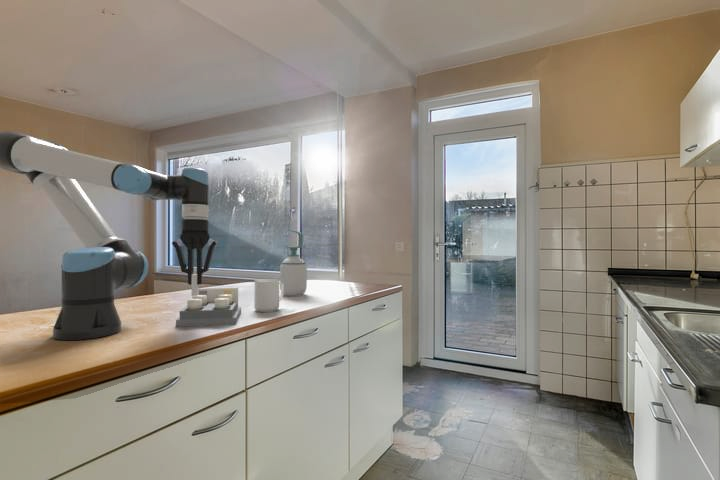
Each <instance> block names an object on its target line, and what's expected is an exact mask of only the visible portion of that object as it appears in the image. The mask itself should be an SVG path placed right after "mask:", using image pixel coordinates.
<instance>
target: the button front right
mask: <svg viewBox="0 0 720 480" xmlns="http://www.w3.org/2000/svg"><path fill="white" fill-rule="evenodd" d="M215 309H229V298H217V299H215Z"/></svg>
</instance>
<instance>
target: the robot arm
mask: <svg viewBox="0 0 720 480" xmlns="http://www.w3.org/2000/svg"><path fill="white" fill-rule="evenodd" d="M0 169H2V170H4V171H8V172H12V173H16V174H21V175H25V176H26V177H27V178H28V180H29V182H31V184H32V185H33V187H34V188H35V189H38V190H41V191H44V192H45V194H46V195H47V196H48V197H49V199H50V200H51V203H53V205H54V206H55V207H56V209H57V211H58V212H59V213H60V215H62V217H63V219H65V221H66V223H67V224H68V225H69V227H70V228H71V229H72V231H73V233H74V234H75V235H76V236H77V238H78V239H79V240H80V242H81V244H82V245H83V247H81V248H75V249H70V250H67V251H65V252H64V253H63V255H62V258H61V259H62V261H61V265H60V269H61V308H60V310H59V313H58V315H57V318H56V321H55V324H54V326H53V327H52V338H53V339H54V340H59V341H79V340H80V341H81V340H89V339H97V338H103V337H106V336H110V335H114V334H117V333H119V332H121V331H122V321H121V318H120V315H119V313H118V309H117V308H116V305H115V291H116V290H120V289H121V290H122V289H129V288H132V287H135V286H137V285H139V284H140V283H142V282H143V281H144V280H145V278H146V277H147V275H148V271H149V260H148V258H147V257H146V256H145V254H144V253H142V252H141V251H139V250H135V249H133V248H132V247H131V246H130V244H129V243H128V242H127V240H126V239H125V238H120V237H118V236H117V235H116V234H115V232H114V230H112V229H111V227H110V226H109V224H108V222H107V221H106V219H105V218H104V217H103V216H102V215H101V213H100V211H99V210H98V209H97V207H96V206H95V205H94V203H93V202H92V200H91V199H90V198H89V197H88V195H87V194H86V193H85V191H84V189H83V188H82V187H81V186H80V183H79V182H83V183H87V184H92V185H95V186H96V185H97V186H100V187H103V188H104V187H105V188H108V189H111V190H112V189H113V190H117V191H119V192H120V191H121V192H124V193H127V194H131V195H138V196H142V197H143V198H144V199H146V200H152V201H163V200H164V201H167V200H169V201H170V200H172V201H173V200H177V201H180V200H181V218H183V219H182V220H181V234H180V237H179V238H178V239H176V240H174V241H172V242H171V244H172V246H173V247H174V249H175V251H176V256H177V258H178V263H179V267H180V271H181V272H182V273H184V274H185V273H186V274H187V284H188V285H190V286H191V296H197V295H198V294H199V287H200V286H199V285H202V283H203V274H204V273H206V272H208V271H209V269H210V266H211V260H212V258H213V253H214V250H215V248H216V247H217V245H218V242H217V241H215V240H213V239H212V238H211V237H210V233H209V221H208V220H207V219H208V218H209V190H210V189H209V186H210V184H209V173H208V172H207V170H206V169H203V168H198V167H186V168H185V167H184V168H183V169H182V171H181V174H180V175H179V174H177V175H172V174H171V175H169V174H168V175H167V174H162V173H158V172H155V171H153V170H149V169H146V168H143V167H142V166H139V165H136V164H129V163H128V164H127V163H123V162H119V161H115V160H111V159H106V158H102V157H98V156H94V155H90V154H85V153H83V152H82V153H81V152H77V151H74V150H70V149H67V148H66V147H64V146H62V145H60V144H58V143H56V142H54V141H50V140H44V139H42V138H38V137H36V136H32V135H30V134H26V133H24V132H20V131H15V130H3V131H0ZM207 243H208V250H207V253H206V257H205V261H204V265H203V251H204V250H203V248H205V246H206V245H207ZM183 244H184V247H186V251H187V263H186V259H185V255H184V251H183V248H182V245H183ZM195 249H196V271H194V269H195V268H194V266H195V265H194V264H195V263H194V262H195V261H194V258H195V257H194V255H195V254H194V252H195ZM195 272H196V273H195Z"/></svg>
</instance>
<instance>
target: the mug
mask: <svg viewBox="0 0 720 480" xmlns="http://www.w3.org/2000/svg"><path fill="white" fill-rule="evenodd" d="M280 284H281V290H280ZM284 296H285V295H284V283H280V279H279V278H276V279H275V278H260V279H254V299H253V300H254V306H253V307H254V309H255V311H257V312H259V313H271V312H277V310H278V309H279V308H280V302H281V300H283V298H284Z"/></svg>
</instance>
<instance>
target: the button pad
mask: <svg viewBox="0 0 720 480" xmlns="http://www.w3.org/2000/svg"><path fill="white" fill-rule="evenodd" d="M224 294H230V295H232V304H231V305H229V309H215V299H217V298H219V295H224ZM198 295H207V305H204V306H202V309H201V310H187V305H186V306H185V307H183V308H182V309H181V310H179V317H178V318H176V319H175V327H193V326H194V327H195V326H197V327H198V326H200V327H201V326H218V325H221V326H222V325H236V324H237V322H238V320H239V318H240V316H241V314H242V307H241V306H239V287H208V288H207V287H202V288H201V287H200V288H199V294H198ZM191 296H192V295H191ZM191 299H193V296H192V297H191Z"/></svg>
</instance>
